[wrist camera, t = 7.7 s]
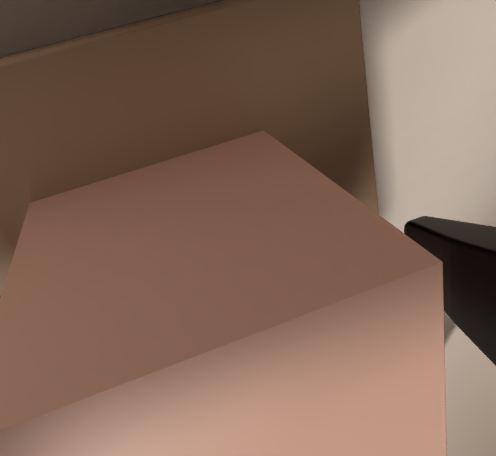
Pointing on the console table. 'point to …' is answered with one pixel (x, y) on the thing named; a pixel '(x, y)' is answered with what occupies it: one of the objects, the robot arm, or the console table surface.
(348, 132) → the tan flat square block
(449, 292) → the robot arm
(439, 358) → the peach block
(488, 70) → the console table surface
